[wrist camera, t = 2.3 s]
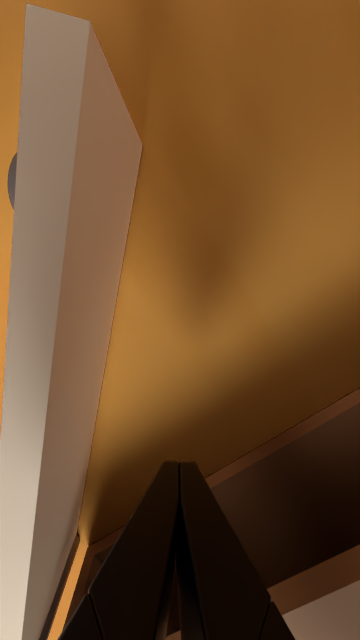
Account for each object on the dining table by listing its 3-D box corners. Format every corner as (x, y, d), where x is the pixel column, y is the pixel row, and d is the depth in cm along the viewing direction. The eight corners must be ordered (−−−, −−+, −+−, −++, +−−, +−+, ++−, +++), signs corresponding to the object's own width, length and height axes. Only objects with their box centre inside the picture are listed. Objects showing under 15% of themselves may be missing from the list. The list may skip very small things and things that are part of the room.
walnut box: (212, 654, 15) (225, 846, 10) (87, 547, 13) (32, 727, 8) (554, 502, 12) (798, 676, 7) (467, 324, 10) (738, 408, 5)
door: (77, 551, 13) (17, 733, 8) (35, 544, 13) (-52, 724, 8) (149, 147, 8) (105, 25, 4) (82, 129, 8) (-57, -21, 3)
